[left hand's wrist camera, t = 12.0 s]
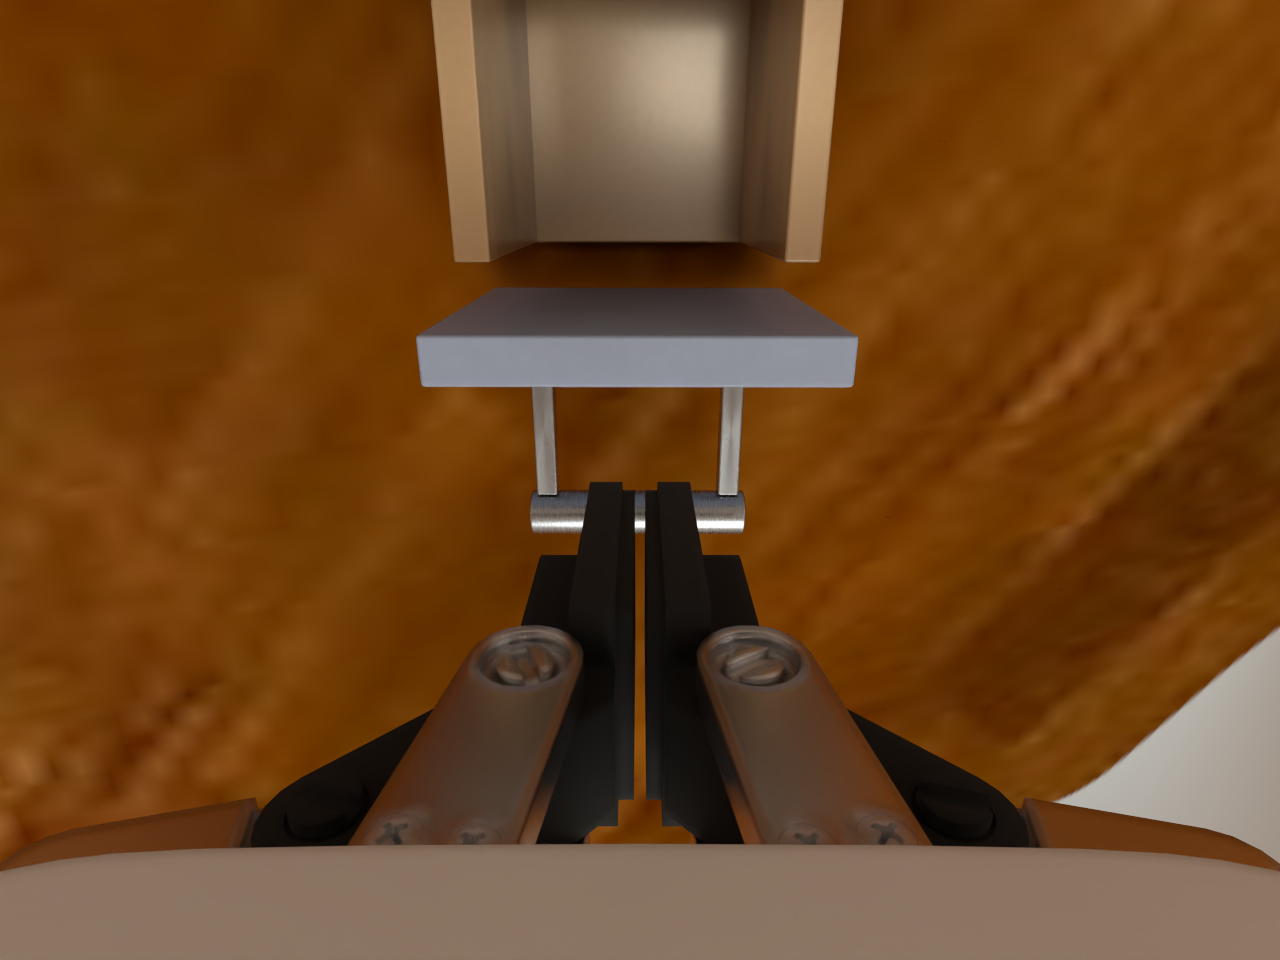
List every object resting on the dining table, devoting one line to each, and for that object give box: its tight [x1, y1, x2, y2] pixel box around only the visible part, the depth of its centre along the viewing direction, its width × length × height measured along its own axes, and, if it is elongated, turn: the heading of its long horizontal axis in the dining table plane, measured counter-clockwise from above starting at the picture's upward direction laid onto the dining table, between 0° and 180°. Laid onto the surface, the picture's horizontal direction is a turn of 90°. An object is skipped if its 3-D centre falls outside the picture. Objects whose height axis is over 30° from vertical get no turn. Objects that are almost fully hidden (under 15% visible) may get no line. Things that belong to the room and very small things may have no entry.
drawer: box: [416, 0, 858, 534], centre depth 18 cm, size 24×10×9 cm, turn 0°
